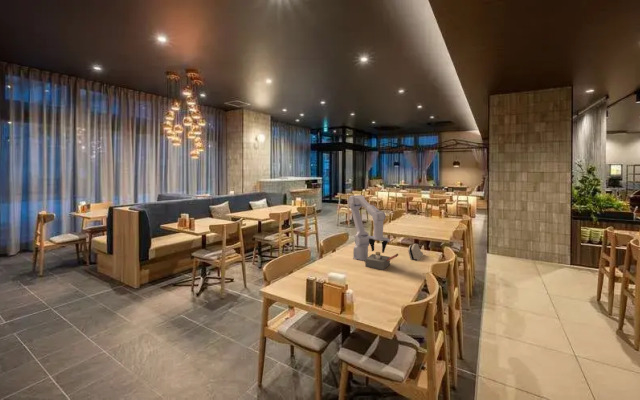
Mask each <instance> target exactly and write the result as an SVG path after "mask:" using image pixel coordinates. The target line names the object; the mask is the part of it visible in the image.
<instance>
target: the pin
mask: <svg viewBox="0 0 640 400" xmlns="http://www.w3.org/2000/svg"><path fill="white" fill-rule="evenodd" d="M375 255H376V258H375V259H380V255H381V252H380V251H376V252H375Z"/></svg>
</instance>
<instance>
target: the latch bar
mask: <svg viewBox="0 0 640 400" xmlns="http://www.w3.org/2000/svg"><path fill="white" fill-rule="evenodd" d="M398 256H399V254H398V253H396V254H394V255H392V256H389V257H390V258H388V259H387V261H389V260H390V261H391V260H393V259H395V258H397V257H398Z"/></svg>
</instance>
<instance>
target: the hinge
mask: <svg viewBox="0 0 640 400" xmlns="http://www.w3.org/2000/svg"><path fill="white" fill-rule="evenodd" d="M407 251H408V252H407V253H408V255H409V260H410V261H412V260H416V261H417V262H419V261H420V259H421V258H423V256H424V252H422V251H421V248H420V246H419V244H418V243H414V244H413V243H412V244H411V245H409V246H408V248H407Z"/></svg>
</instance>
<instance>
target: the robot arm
mask: <svg viewBox="0 0 640 400" xmlns="http://www.w3.org/2000/svg"><path fill="white" fill-rule="evenodd" d="M347 201H348V206H349V208H350V211H351V215H352V219H353V223H354V226H355V230H356V234H354V243H355V245H353V253H352V254H353V256H352V257H353V258H352V259H354V260H359V261H363V262H364V261H365V259H366V258H368V257H369V246H370V248H371V252H375V241H379V242H381V253H385V249H386V247H387V245H388V243H390V242H391V238H389V237H384V221H385V220H386V213H385V212H384V211H382V210H379V209H378V208H377V207H376V206H375V205H374V204H370V202H368V201H367V200H366V197H365V196H364V195H363V194H356V195H355V194H354V195H350V196H349V197H348V200H347ZM361 207H363V208H364V209H366V212H367V213H368V214H369V216H371V218H372V221H373V235H369V232H367V231H365V227H364V224H363V220H362V216H361V212H360V209H361Z"/></svg>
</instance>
